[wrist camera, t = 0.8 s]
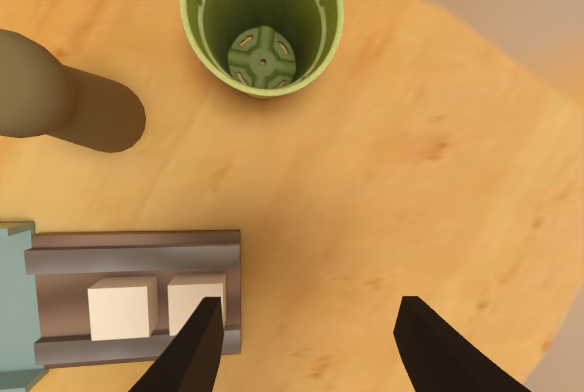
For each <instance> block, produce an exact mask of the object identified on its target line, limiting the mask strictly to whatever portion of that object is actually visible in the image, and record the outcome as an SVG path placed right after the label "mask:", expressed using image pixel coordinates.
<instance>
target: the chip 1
mask: <svg viewBox="0 0 584 392" xmlns="http://www.w3.org/2000/svg"><path fill="white" fill-rule="evenodd" d="M88 300H89V313H90V326H91V339H92V341H97V340H112V339H127V338H142V337H150V335H151V334H152V332H153V330H154V329H155V327H156V326H157V324H158V322H159V314H158V292H157V275H155V276H128V277H103V278H102V279H101V280H99V281H98V282H96V283H95V284H94V285H92V286H91V287H90V288H88Z"/></svg>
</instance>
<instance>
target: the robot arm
mask: <svg viewBox="0 0 584 392" xmlns="http://www.w3.org/2000/svg"><path fill="white" fill-rule="evenodd" d="M393 334H394V337H395V340H396V344H397V347H398V350H399V353H400V356H401V359H402V362H403V364H404V366H405V369H406V371H407V373H408V376H409V378H410V380H411V382H412V385H413V387H414V389H415V391H416V392H531V391H530V390H528V389H527V388H526V387H524V386H523V385H522V384H520V383H519V382H518V381H516V380H515V379H514V378H512V377H511V376H510V375H508V374H507V373H506V372H505V371H503V370H502V369H501V368H500V367H498V366H497V365H496V364H495V363H493V362H492V361H491V360H490V359H489V358H487V357H486V356H485V355H484V354H482V353H481V352H480V351H479V350H478V349H476V348H475V347H474V346H473V345H472V344H471V343H469V342H468V341H467V340H466V339H465V338H464V337H463V336H461V335H460V334H459V333H458V332H457V331H456V330H455V329H454V328H452V327H451V326H450V325H449V324H448V323H447V322H446V321H445V320H444V319H443V318H441V317H440V316H439V315H438V314H437V313H436V312H435V311H434V310H433V309H432V308H430V307H429V306H428V305H427V304H426V303H425V302H424V301H423V300H421V299H420V298H419V297H418V296H403V297H402V301H401V305H400V309H399V312H398V316H397V320H396V324H395V328H394V331H393ZM223 339H224V325H223V315H222V304H221V297H204V298H203V299H202V300H201V302H200V303H199V305H198V306H197V307H196V309H195V310H194V312H193V313H192V315H191V316H190V317H189V319H188V320H187V322H186V323H185V324H184V326H183V327H182V328H181V330H180V331H179V332H178V334H177V335H176V336H175V337H174V339H173V340H172V341H171V343H170V344H169V345H168V346H167V348H166V349H165V350H164V351H163V353H162V354H161V355H160V356H159V357H158V358H157V360H156V361H155V362H154V363H153V364H152V366H151V367H150V368H149V369H148V370H147V371H146V373H145V374H144V375H143V376H142V377H141V378H140V379H139V380H138V381H137V383H136V384H135V385H134V386H133V387H132V388H131V389H130V390H129V391H128V392H212V390H213V386H214V382H215V379H216V375H217V371H218V367H219V363H220V358H221V352H222V346H223Z"/></svg>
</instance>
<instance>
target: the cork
mask: <svg viewBox="0 0 584 392" xmlns="http://www.w3.org/2000/svg"><path fill="white" fill-rule="evenodd" d="M145 122H146V116H145V112H144V107H143V105H142V103H141V102H140V100H139V98H138V96H137V95H135V94H134V93H133V92H132V91H131V90H130V89H129V88H128V87H126V86H124V85H122V84H120V83H118V82H115V81H112V80H109V79H106V78H103V77H100V76H97V75H93V74H90V73H87V72H84V71H81V70H78V69H75V68H72V67H69V66H65V65H62V64H61V63H60V62H59V61H58V60H57V59H56V58H55V57H54V56H53V55H52V54H51V53H50V52H49V51H48V50H47V49H46V48H45V47H43V46H41V45H40V44H38V43H36V42H34V41H32V40H30V39H29V38H27V37H25V36H23V35H21V34H19V33H16V32H12V31H8V30H4V29H0V135H1V136H7V137H15V138H25V137H34V136H40V135H45V134H47V135H50V136H53V137H56V138H59V139H62V140H66V141H69V142H72V143H75V144H78V145H82V146H85V147H88V148H91V149H94V150H97V151H102V152H109V153H113V152H121V151H124V150H126V149H128V148H130V147H132V146H133V145H134V144H135V143H136V142H137V141H138V140H139V139H140V138H141V136H142V134H143V131H144V129H145Z"/></svg>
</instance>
